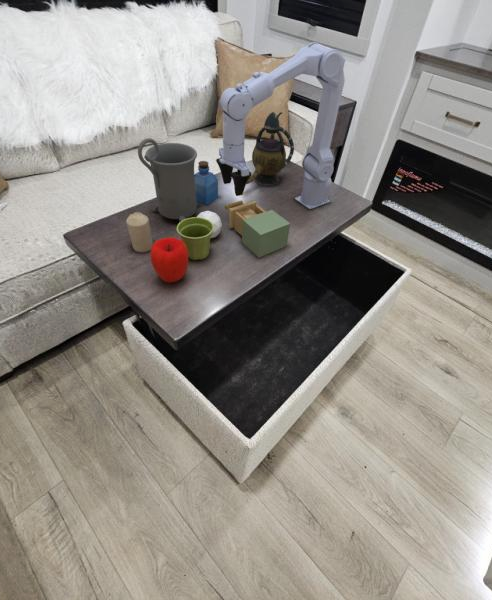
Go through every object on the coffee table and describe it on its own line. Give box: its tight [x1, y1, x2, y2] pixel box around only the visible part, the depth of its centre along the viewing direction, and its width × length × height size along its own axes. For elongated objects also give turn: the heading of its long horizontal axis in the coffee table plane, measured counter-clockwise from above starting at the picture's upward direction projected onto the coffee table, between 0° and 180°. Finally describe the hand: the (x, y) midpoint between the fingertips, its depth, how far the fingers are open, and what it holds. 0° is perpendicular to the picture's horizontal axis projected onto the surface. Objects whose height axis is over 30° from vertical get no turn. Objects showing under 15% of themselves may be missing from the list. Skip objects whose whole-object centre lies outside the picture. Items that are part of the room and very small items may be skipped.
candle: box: [125, 211, 154, 253], centre depth 89 cm, size 6×6×10 cm
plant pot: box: [176, 216, 214, 261], centre depth 89 cm, size 9×9×9 cm
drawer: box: [224, 199, 267, 236], centre depth 100 cm, size 12×9×6 cm
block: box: [239, 209, 257, 219], centre depth 99 cm, size 4×4×4 cm
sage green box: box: [241, 209, 291, 259], centre depth 94 cm, size 8×10×8 cm
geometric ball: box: [196, 210, 223, 239], centre depth 96 cm, size 8×8×8 cm
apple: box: [149, 236, 189, 283], centre depth 81 cm, size 9×9×11 cm
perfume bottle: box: [194, 160, 219, 206], centre depth 109 cm, size 6×6×12 cm
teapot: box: [246, 111, 295, 187], centre depth 114 cm, size 12×25×23 cm, turn 145°
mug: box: [137, 137, 199, 223], centre depth 95 cm, size 19×15×25 cm
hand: (233, 188), depth 99 cm, fingers open, 7 cm apart
